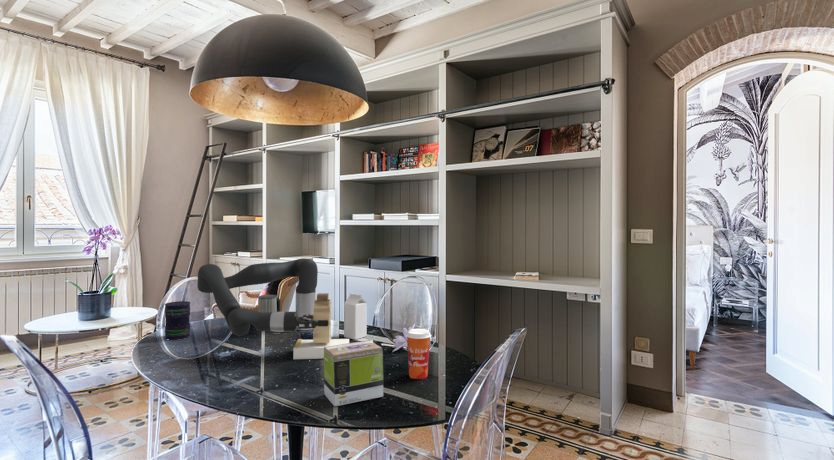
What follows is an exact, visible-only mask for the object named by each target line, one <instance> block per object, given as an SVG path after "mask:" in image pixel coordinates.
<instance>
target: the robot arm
mask: <svg viewBox="0 0 834 460" xmlns="http://www.w3.org/2000/svg"><path fill="white" fill-rule="evenodd" d="M318 270H319V269H318V265H317V263H316V262H315V261H314V260H313V259H310V258H298V259H293V260H289V261H284V262H263V263H253V264H250V265H248V266H245V268H243V269H241V270H239V271H238V272H236V273H234V274H233V275H230V276H226V277H225V276H224V273H223V272H222V269H221V267H220V266H218V265H217V264H215V263H214V264H213V263H207V264H203V265H202V266H200V267H199V268H198V271H197V289H198V291H199V292H201V293H204V294H212V295H213V299H214V302H215V304H216V307H217V308H218V310H219V311H220V313H221V315H223V318H224V319H225V321H226V324H227V327H228V329H229V330H230V332H231V333H232V334H233V335H236V336H238V337H239V336H241V337H242V336H245V335H246V334H247V333H249V331H250V330H251V325H252V326H253V327H254V328H255V329H256V331H258V332H277V333H279V332H283V333H284V332H286V333H287V332H289V333H290V332H291V333H292V332H293V333H294V332H297V331H310V330H311V331H312V330H313V328H315V327H318V326H328V320H314V301H315V300H316V291H317V290H316V288H317V286H318V276H319V274H318ZM285 278H298V283H297V285H296V286H295V311H280V312H258V310H253V309H250V308H245V307H241V304H240V303H239V302H238V299H236V297H235V295H234V294H233V293H232V291H231V289H235V288H236V289H237V288H241V287H247V286H256V285H262V284H263V285H264V284H265V285H266V284H268V283H274V282H277V281H279V280H282V279H285Z"/></svg>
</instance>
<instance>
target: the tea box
mask: <svg viewBox="0 0 834 460" xmlns="http://www.w3.org/2000/svg"><path fill="white" fill-rule="evenodd" d="M383 356H384V353H383V347H381V346H380V345H378V344H376V343H375V342H373V341H371V340H362V341H355V342H349V343H347V344H341V345H334V346H327V347H324V358H323V376H324V377H323V379H324V380H323V382H324V383H323V385H324V386H323V387H324V388H323V389H324V392H323V393H324V395H325V397H326V398H327V400H329V402H330V403H331V404H332V406H333V407H339V406H344V405H349V404H353V403H358V402H362V401H368V400H374V399H378V398H383V397H384V357H383Z"/></svg>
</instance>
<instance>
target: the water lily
mask: <svg viewBox="0 0 834 460" xmlns="http://www.w3.org/2000/svg"><path fill="white" fill-rule="evenodd" d="M415 326H416V323H413V325H411V326H409V327H408V329H407V328H406V327H403V329H402V335H395V340H393V342H395V343H394V344H393V346H392V347H391V348H394V349H393V350H391V351H392V352H391V353H394V352H396V351H398V350H400V349H401V348H402V347H403V346H405V345H407V336H406V334H407V333H408V331H409V330H411V329H415Z"/></svg>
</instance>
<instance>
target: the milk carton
mask: <svg viewBox="0 0 834 460" xmlns="http://www.w3.org/2000/svg"><path fill="white" fill-rule="evenodd" d="M343 304H344V305H343V306H344V307H343V337H344V338H345V339H349V340H350V339H352V340H359V339H362V338H366V337H367V333H368V332H367V327H368V324H367V321H368V320H367V319H368V318H367V317H368V316H367V315H368V314H367V313H368V311H367V309H368V308H367V307H368V304H367V301H366V300H364V298H363V297H362V295H361V294H356V293H349V296H348V298H347V299H346V301H344V303H343Z"/></svg>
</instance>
